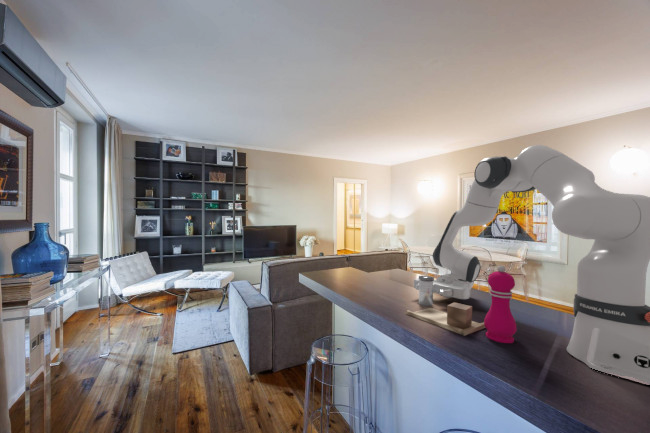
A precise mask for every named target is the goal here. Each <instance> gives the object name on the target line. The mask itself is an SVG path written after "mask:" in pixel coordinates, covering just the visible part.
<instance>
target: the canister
mask: <svg viewBox="0 0 650 433" xmlns="http://www.w3.org/2000/svg"><path fill="white" fill-rule="evenodd" d="M418 278H419V290H418V305H420V306H424V307H432V306H434V305H433V304H434V293H433V281H434V280H435V277H433V276H430V275H418Z"/></svg>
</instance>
